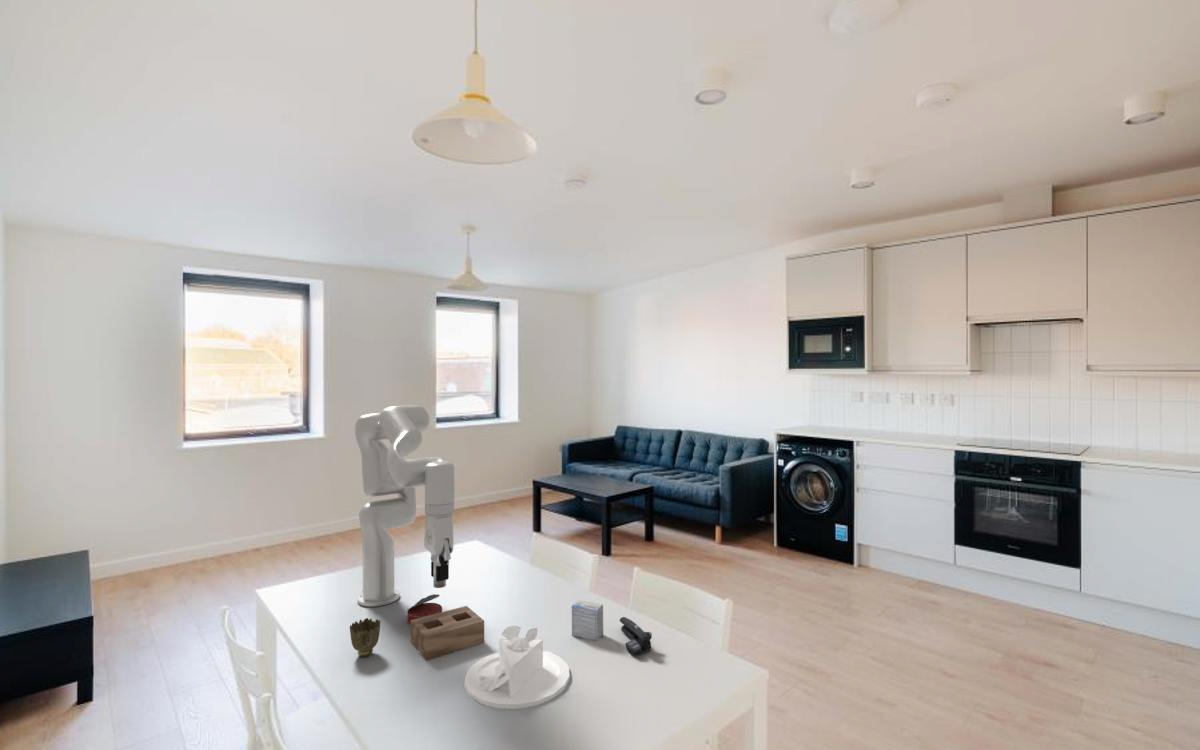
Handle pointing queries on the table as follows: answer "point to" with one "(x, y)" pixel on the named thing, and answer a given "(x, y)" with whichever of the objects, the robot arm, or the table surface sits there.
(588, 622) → the medicine box
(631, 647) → the can opener
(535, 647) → the dish
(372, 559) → the robot arm
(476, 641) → the hole block
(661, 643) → the table surface
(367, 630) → the cup
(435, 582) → the pin
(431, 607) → the canned food
